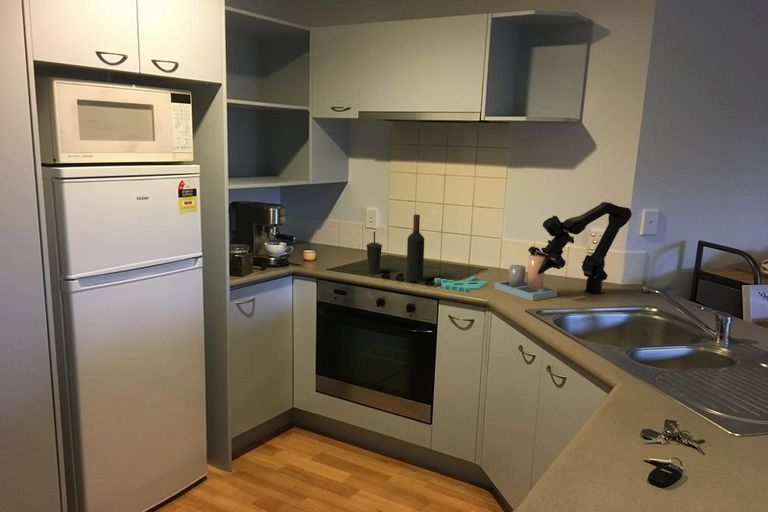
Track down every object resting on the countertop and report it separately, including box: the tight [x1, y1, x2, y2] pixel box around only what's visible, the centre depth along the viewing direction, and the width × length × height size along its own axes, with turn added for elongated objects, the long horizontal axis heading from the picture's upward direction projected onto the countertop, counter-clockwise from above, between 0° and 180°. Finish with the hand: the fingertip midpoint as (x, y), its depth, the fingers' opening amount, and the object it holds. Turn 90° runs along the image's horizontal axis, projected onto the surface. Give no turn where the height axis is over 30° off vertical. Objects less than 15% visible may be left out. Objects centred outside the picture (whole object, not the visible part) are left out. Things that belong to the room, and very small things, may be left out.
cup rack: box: [494, 280, 558, 301], centre depth 249 cm, size 14×22×4 cm, turn 32°
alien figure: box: [434, 276, 489, 293], centre depth 261 cm, size 20×2×20 cm
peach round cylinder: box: [526, 254, 545, 289], centre depth 243 cm, size 7×7×13 cm
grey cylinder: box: [508, 264, 526, 288], centre depth 252 cm, size 7×7×10 cm
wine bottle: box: [405, 214, 425, 283], centre depth 267 cm, size 8×8×30 cm
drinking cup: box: [366, 231, 383, 275], centre depth 280 cm, size 8×8×20 cm
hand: (533, 271), depth 242 cm, fingers closed on peach round cylinder, 7 cm apart
